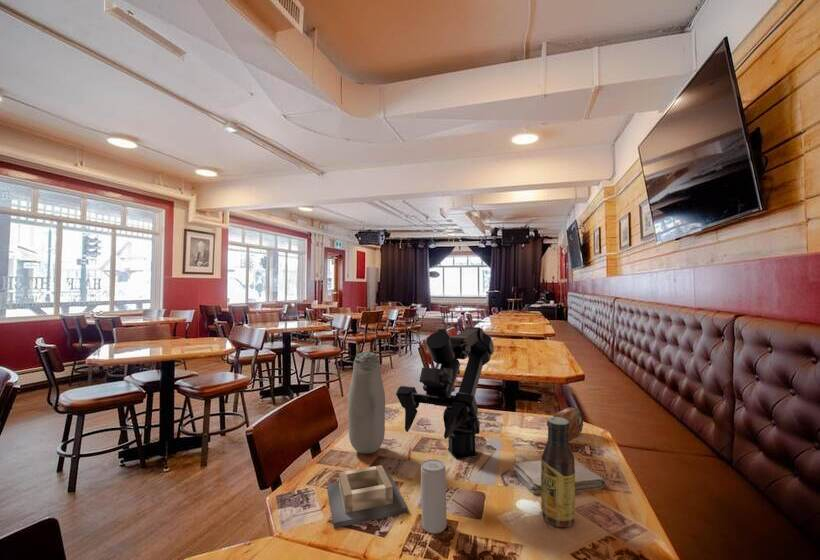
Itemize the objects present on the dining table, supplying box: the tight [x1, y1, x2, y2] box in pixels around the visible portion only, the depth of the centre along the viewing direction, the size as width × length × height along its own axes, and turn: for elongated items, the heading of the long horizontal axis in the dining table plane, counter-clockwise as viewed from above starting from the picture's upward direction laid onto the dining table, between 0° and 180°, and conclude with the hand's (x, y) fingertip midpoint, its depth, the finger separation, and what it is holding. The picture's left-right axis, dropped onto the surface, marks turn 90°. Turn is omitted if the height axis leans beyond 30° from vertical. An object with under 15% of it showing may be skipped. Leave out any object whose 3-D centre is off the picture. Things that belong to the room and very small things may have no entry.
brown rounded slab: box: [552, 407, 584, 442], centre depth 113 cm, size 15×3×8 cm, turn 129°
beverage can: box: [420, 458, 448, 535], centre depth 72 cm, size 5×5×12 cm
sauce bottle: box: [540, 416, 576, 528], centre depth 74 cm, size 7×6×20 cm
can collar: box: [326, 465, 409, 529], centre depth 82 cm, size 15×15×4 cm
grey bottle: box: [347, 351, 386, 455], centre depth 106 cm, size 10×10×28 cm
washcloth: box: [512, 459, 607, 496], centre depth 89 cm, size 12×18×3 cm, turn 101°
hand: (425, 434), depth 81 cm, fingers open, 9 cm apart
